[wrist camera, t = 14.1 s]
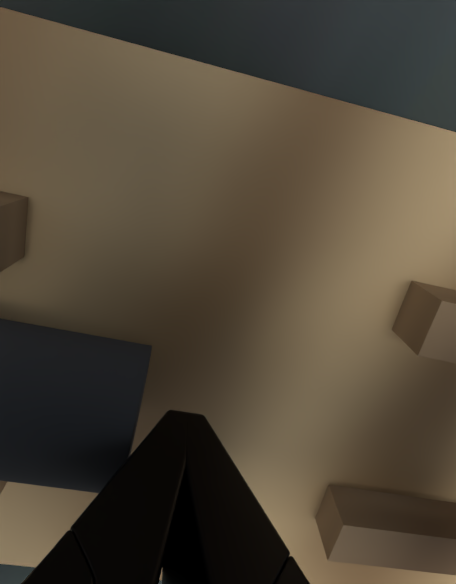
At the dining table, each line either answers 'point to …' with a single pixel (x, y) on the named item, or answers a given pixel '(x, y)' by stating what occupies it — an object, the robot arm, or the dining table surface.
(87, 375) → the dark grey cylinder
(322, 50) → the dining table surface
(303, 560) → the board
